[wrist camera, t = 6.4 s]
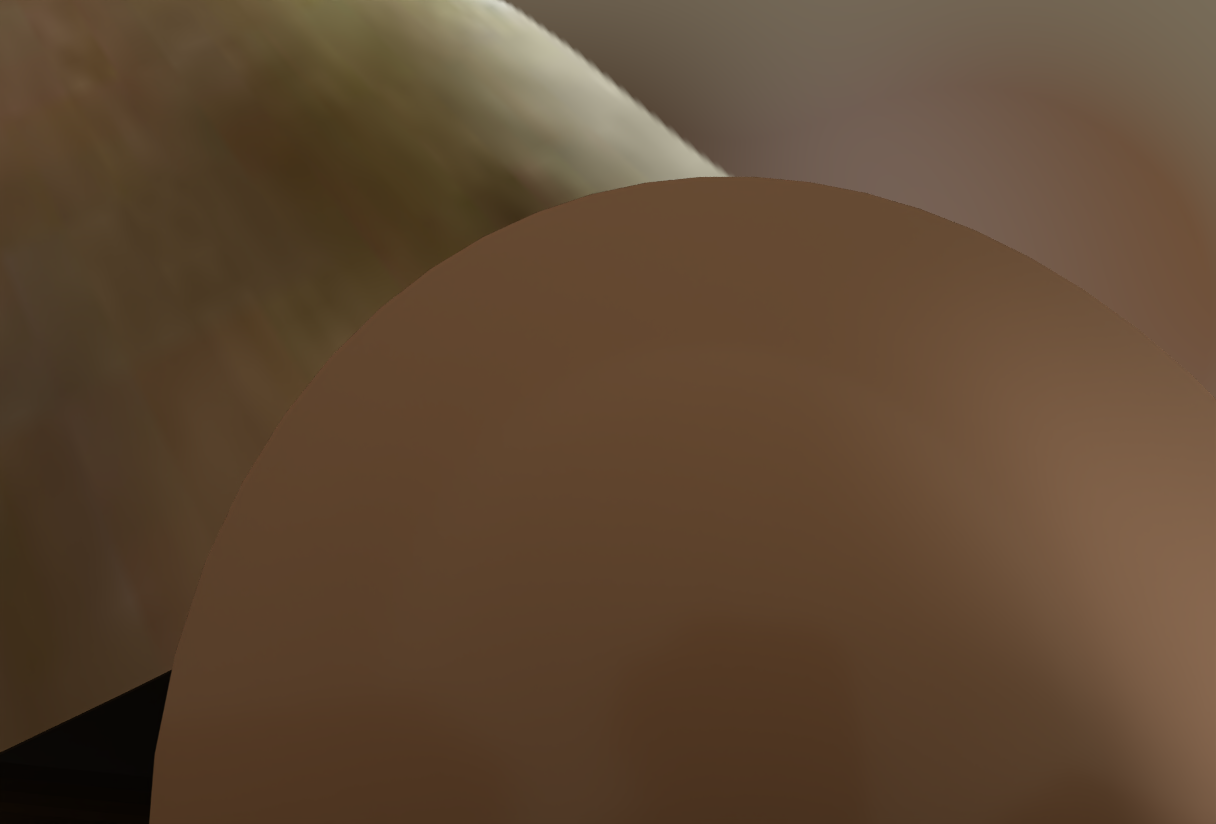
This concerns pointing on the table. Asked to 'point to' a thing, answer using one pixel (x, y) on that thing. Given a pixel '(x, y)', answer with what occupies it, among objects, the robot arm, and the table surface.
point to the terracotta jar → (716, 541)
